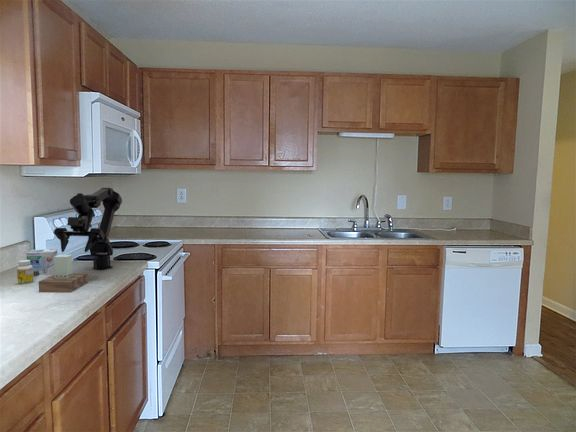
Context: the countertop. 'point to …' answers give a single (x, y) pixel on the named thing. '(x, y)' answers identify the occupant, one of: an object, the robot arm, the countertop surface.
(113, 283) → the countertop surface
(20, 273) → the supplement bottle
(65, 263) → the stub
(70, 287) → the brown stepped stand
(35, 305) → the countertop surface
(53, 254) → the light bulb box
